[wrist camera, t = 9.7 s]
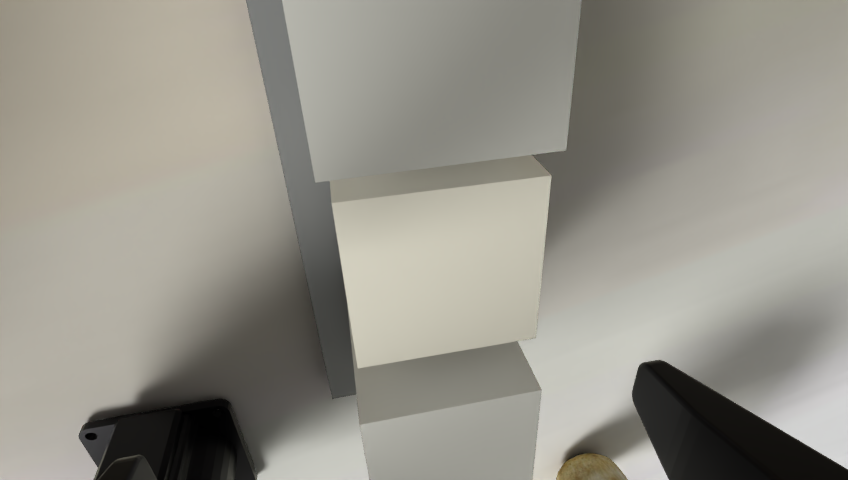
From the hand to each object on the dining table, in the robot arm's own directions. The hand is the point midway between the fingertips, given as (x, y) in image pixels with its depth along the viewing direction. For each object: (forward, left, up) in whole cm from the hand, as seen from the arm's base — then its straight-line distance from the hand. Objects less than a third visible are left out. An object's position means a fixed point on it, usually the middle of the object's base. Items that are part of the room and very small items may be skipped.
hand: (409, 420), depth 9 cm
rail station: (0, -1, -12) cm, 12 cm away
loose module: (0, -2, -10) cm, 10 cm away
